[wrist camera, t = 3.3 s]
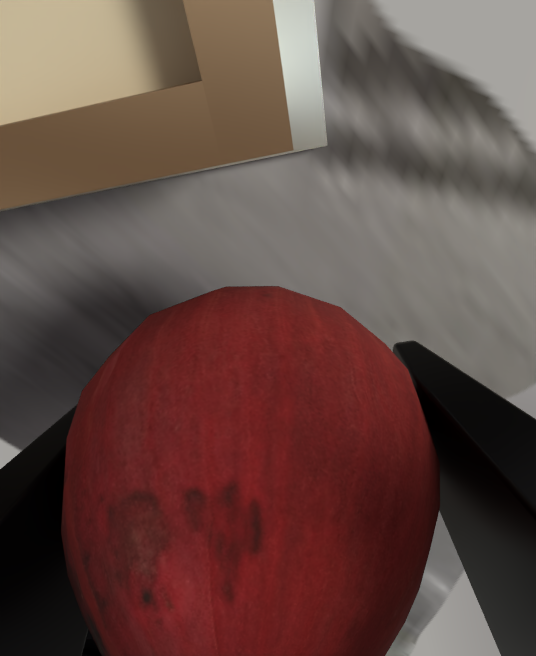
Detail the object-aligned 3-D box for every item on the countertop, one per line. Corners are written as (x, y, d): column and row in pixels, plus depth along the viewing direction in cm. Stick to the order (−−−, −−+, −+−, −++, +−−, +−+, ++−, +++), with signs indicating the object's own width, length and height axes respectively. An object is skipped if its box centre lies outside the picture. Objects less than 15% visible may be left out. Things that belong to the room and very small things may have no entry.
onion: (127, 388, 11) (-91, 900, 4) (157, 183, 8) (-490, 918, 1) (322, 430, 12) (391, 899, 5) (420, 264, 9) (894, 906, 2)
